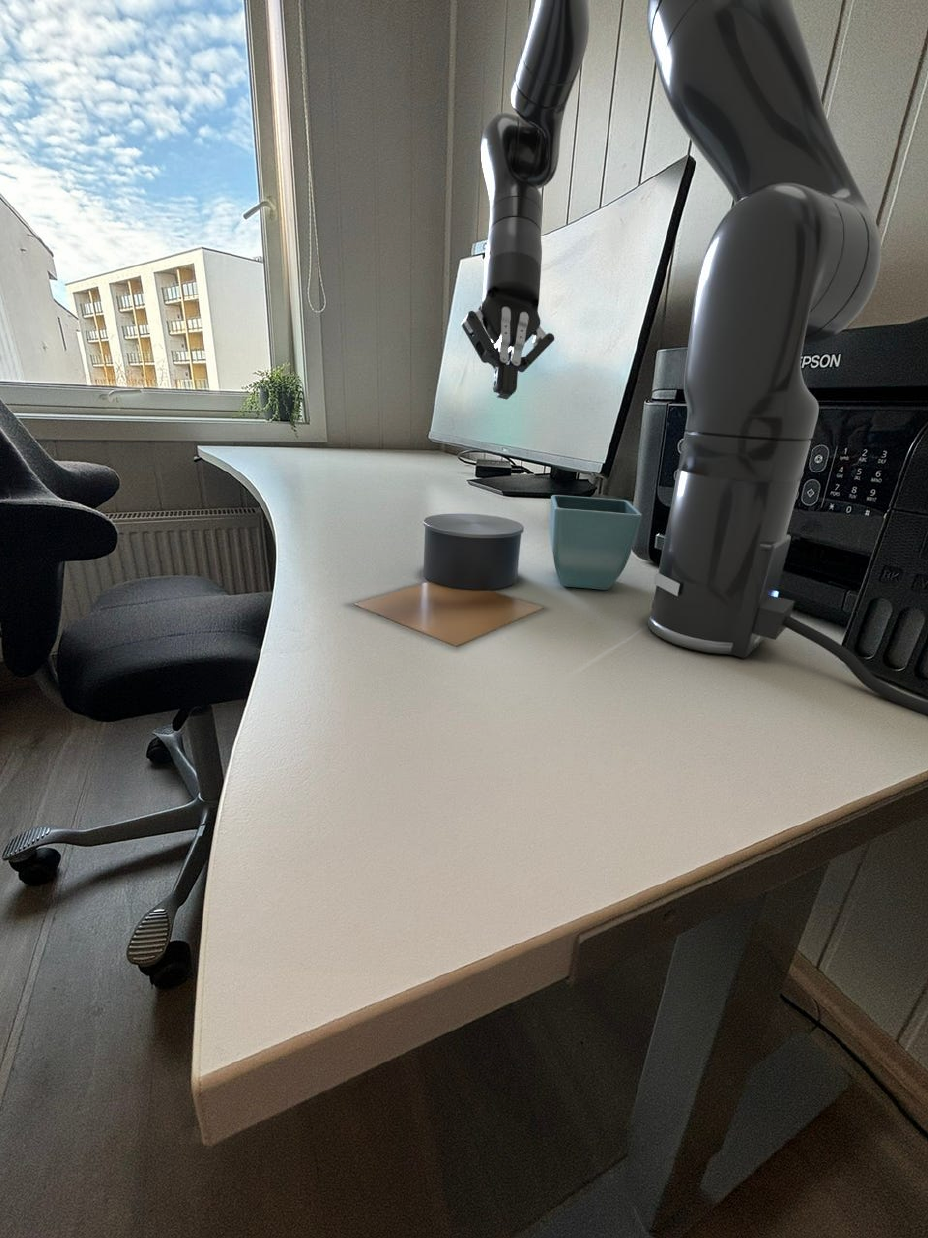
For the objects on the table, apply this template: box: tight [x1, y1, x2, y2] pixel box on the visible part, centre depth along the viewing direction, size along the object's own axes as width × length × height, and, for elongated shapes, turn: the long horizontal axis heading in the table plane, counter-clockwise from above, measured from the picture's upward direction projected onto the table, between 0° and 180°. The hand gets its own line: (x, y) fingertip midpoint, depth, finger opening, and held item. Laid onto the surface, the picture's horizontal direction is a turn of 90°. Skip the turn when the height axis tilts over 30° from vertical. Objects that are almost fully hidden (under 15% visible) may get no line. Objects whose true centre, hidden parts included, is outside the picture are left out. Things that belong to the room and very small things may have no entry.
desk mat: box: [353, 580, 544, 648], centre depth 55 cm, size 13×13×1 cm
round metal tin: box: [422, 512, 525, 591], centre depth 63 cm, size 11×11×6 cm
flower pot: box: [549, 494, 643, 591], centre depth 62 cm, size 9×9×9 cm
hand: (504, 396), depth 74 cm, fingers closed
